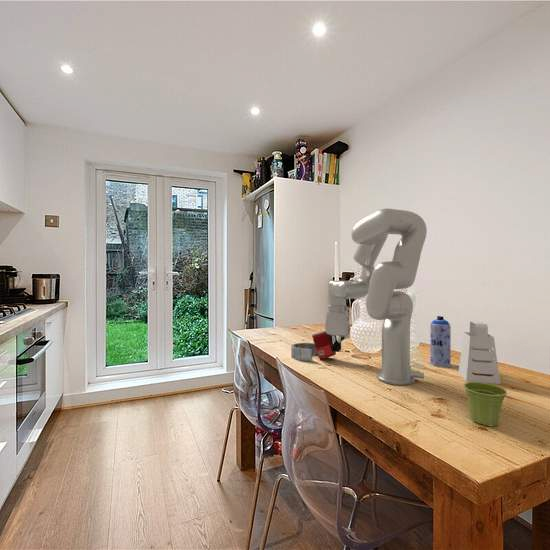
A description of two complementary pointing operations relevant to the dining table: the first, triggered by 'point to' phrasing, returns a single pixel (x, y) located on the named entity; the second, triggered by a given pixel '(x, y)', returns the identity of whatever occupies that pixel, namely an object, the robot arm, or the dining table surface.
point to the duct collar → (303, 351)
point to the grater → (479, 355)
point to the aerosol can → (440, 342)
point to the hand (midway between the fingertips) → (337, 351)
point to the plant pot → (485, 402)
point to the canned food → (323, 345)
